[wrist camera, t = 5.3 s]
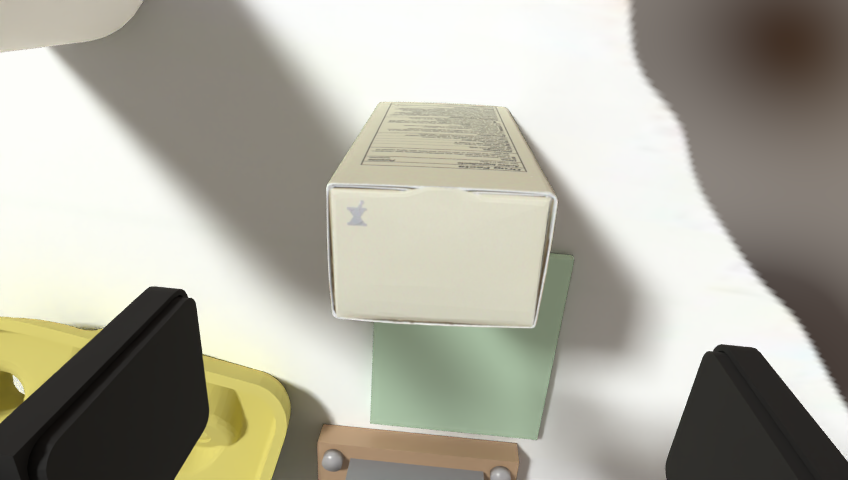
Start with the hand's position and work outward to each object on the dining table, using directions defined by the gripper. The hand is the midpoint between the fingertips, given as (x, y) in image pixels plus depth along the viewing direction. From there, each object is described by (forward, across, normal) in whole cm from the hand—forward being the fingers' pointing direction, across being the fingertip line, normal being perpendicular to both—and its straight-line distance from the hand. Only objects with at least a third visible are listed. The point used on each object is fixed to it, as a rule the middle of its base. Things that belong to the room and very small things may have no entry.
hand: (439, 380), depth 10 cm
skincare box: (+18, +1, 0) cm, 18 cm away
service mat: (+17, -1, +11) cm, 21 cm away
